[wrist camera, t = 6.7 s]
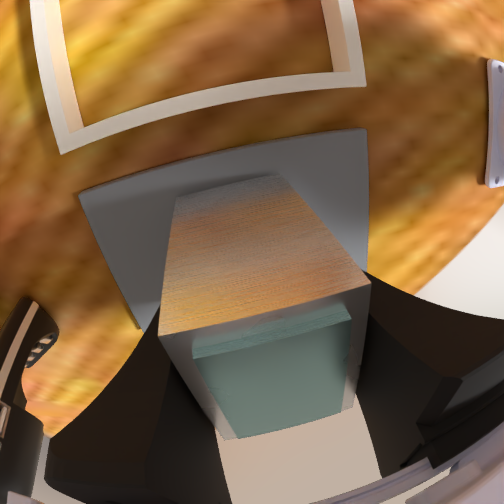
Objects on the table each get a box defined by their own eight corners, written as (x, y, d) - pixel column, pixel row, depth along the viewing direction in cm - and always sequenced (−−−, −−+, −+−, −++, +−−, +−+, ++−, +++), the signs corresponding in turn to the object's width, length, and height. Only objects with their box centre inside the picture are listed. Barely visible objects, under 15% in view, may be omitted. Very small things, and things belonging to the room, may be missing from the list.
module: (279, 173, 11) (377, 291, 5) (293, 277, 14) (355, 413, 8) (176, 196, 11) (157, 346, 5) (208, 297, 14) (225, 447, 8)
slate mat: (361, 127, 11) (366, 129, 11) (361, 276, 16) (365, 281, 15) (81, 191, 11) (77, 195, 10) (146, 328, 15) (145, 335, 15)
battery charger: (35, 369, 16) (5, 513, 6) (-6, 338, 14) (-53, 481, 4) (78, 329, 15) (40, 525, 5) (27, 287, 13) (-48, 483, 3)
